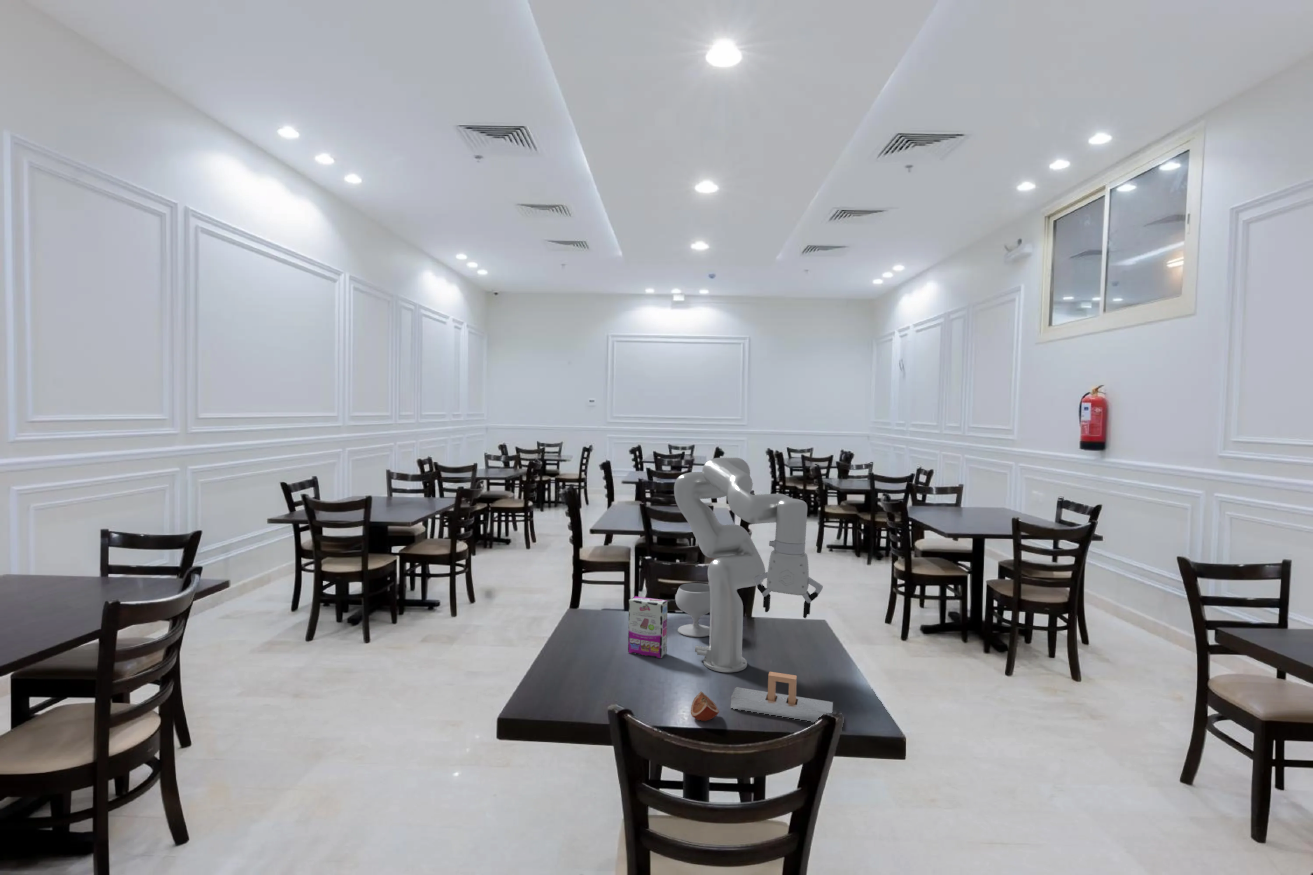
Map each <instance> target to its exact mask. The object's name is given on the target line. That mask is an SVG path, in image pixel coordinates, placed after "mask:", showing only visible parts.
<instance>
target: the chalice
mask: <svg viewBox="0 0 1313 875" xmlns="http://www.w3.org/2000/svg"><path fill="white" fill-rule="evenodd" d="M675 603H676V606H677V608H678V609H679V610H680V611H682V612H684V613H685V614H687V615H688V616H690V617H691V618H692V620H693V621H692V623H689V624H684V625H681V626H679V627H678V628H677V632H678V633H679V634H681V635H683V636H686V637H692V638H693V637H694V638H705V637H708V636H709V637H710V626H709V625H704V624H699V621H700V619H701V618H702V617H703V616H705V615H707V614H708V613H709V614H710V587H709V584H707V583H700V582H691V583H690V582H689V583H683V584H681V585H680V586H678V589H677V592H676V594H675Z"/></svg>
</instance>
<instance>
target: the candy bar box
mask: <svg viewBox="0 0 1313 875" xmlns="http://www.w3.org/2000/svg"><path fill="white" fill-rule="evenodd" d="M668 603H669V602H668V600H664V599H661V598H660V599H658V598H651V597H643V596H637V595H635V596H633V597H632V598H630V599H628V629H627V633H628V636H627V639H628V640H627V641H628V642H627V644H628V645H627V652H629V654H632V653H636V654H635V655H638V654H640V655H639V656H643V655H645V656H644V657H649V656H650V657H649V658H655V657H656V658H655V659H662V658H663V657H664V656H665V654H666V655H667V653H668Z"/></svg>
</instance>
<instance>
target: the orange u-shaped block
mask: <svg viewBox="0 0 1313 875" xmlns="http://www.w3.org/2000/svg"><path fill="white" fill-rule="evenodd" d="M797 680H798V676H797V675H794V674H788V673H782V672H781V673H780V672H775V671H769V672H768V679H767V692H768V700H769V701H775V697H776V693H777V692H776V691H777V682H779V683H784V684H788V695H789V696H788V704H794V705H796V696H797Z"/></svg>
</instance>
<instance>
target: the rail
mask: <svg viewBox="0 0 1313 875" xmlns="http://www.w3.org/2000/svg"><path fill="white" fill-rule="evenodd" d="M788 696H789V694H784V693H777V692H776V697H775V701H769V700H768V691H764V690H757V689H753V688H752V689H750V688H744V687H739V686H736V687H735V688H734V689H733V692H732V694H731V696H730V709H731V708H733V709H732V710H735V709H738V710H737V711H741V710H745V711H744V712H747V711H751V712H750V713H753V712H757V713H756V714H759V713H764V714H763V715H765V714H769V715H768V716H771V715H776V716H775V717H777V716H782V717H781V718H783V717H789V718H794V719H793V720H795V719H800V720H799V721H801V720H807V721H811V722H810V723H812V724H813V723H814V722H815V721H816V720H818V718H819V717H821V716H822V715H823V714H826V713H832V712H834V701H829V700H821V699H816V698H809V697H802V696H797V695H796V705H794V704H788ZM789 718H788V719H789ZM807 721H806V722H807ZM814 724H815V723H814Z"/></svg>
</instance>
